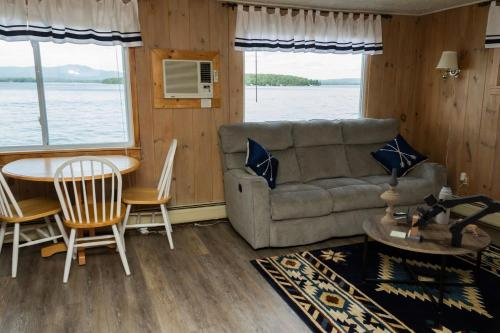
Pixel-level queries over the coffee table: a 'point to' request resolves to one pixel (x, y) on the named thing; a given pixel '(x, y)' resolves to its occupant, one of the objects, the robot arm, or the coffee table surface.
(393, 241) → the coffee table surface
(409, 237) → the dispenser
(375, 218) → the coffee table surface
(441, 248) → the coffee table surface
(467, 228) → the lion figurine
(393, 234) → the mat
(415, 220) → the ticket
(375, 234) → the coffee table surface
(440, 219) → the thermos bottle
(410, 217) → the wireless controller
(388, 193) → the wooden candle holder
